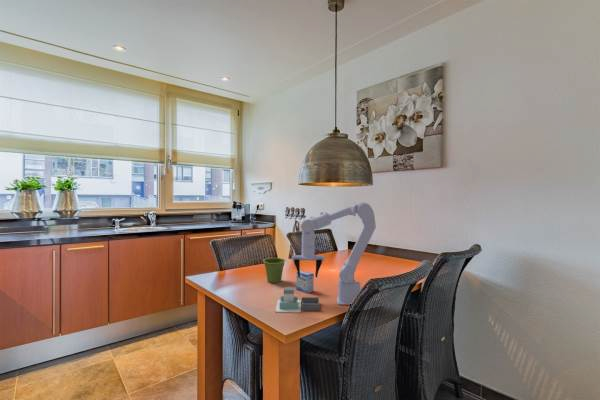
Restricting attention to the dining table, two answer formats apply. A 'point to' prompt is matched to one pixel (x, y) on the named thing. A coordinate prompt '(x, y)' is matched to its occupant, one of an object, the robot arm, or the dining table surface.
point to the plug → (288, 294)
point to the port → (289, 305)
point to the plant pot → (274, 269)
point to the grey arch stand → (310, 303)
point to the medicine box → (305, 281)
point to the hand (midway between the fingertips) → (307, 276)
